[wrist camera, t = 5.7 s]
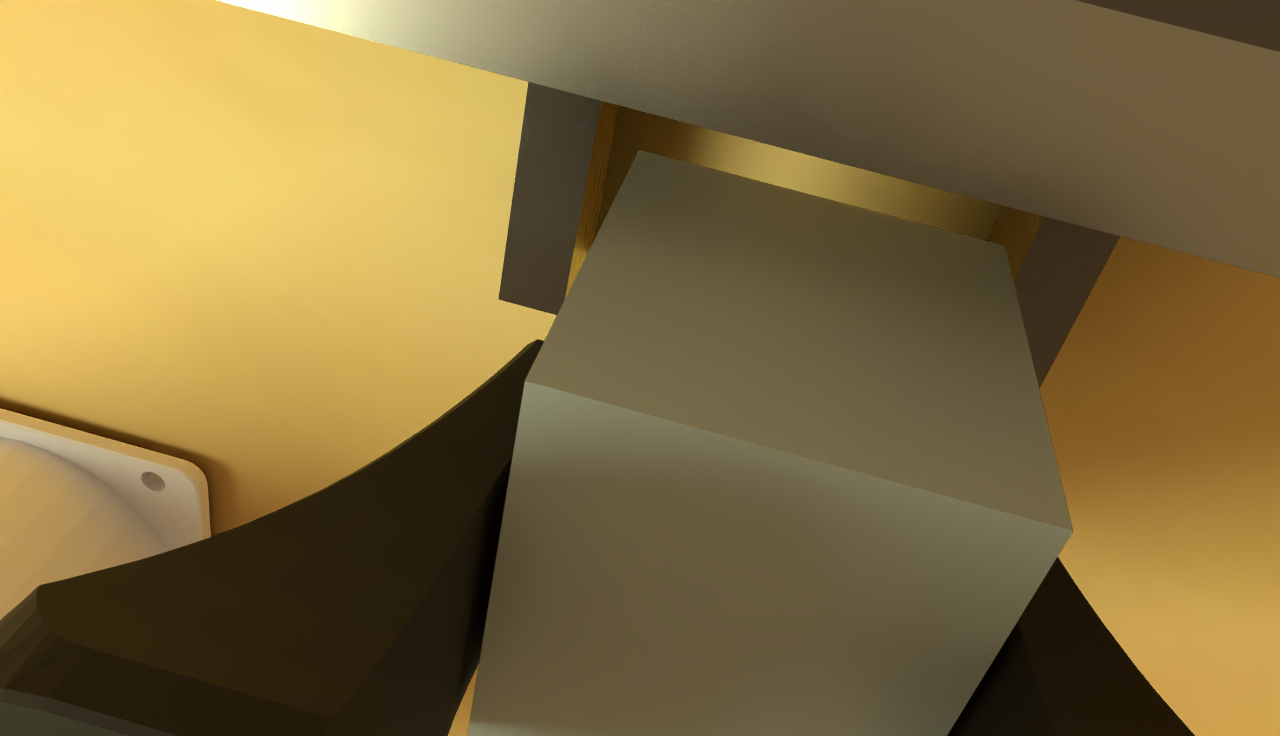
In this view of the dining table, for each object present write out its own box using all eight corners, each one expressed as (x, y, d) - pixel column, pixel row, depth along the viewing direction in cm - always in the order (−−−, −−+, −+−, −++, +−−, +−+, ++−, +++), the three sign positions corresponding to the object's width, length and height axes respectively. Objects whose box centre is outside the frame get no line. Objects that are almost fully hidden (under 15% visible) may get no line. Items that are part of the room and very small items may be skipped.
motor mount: (251, 166, 17) (-51, 399, 12) (228, -754, 11) (-444, -1224, 5) (1177, 413, 17) (1339, 788, 11) (1703, -414, 11) (2706, -538, 5)
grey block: (550, 573, 17) (446, 862, 13) (639, 149, 12) (524, 380, 8) (820, 649, 16) (803, 968, 12) (1005, 245, 12) (1072, 530, 8)
